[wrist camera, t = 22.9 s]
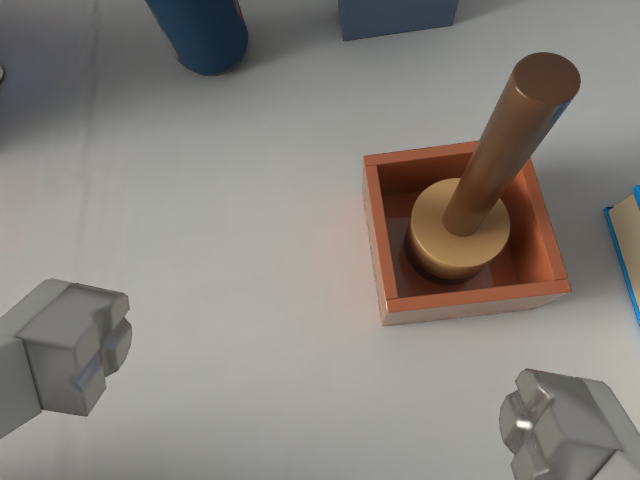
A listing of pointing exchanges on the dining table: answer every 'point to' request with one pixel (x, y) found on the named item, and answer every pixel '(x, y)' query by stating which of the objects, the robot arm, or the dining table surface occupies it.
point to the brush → (488, 175)
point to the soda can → (203, 33)
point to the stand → (392, 16)
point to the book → (628, 241)
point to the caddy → (494, 279)
